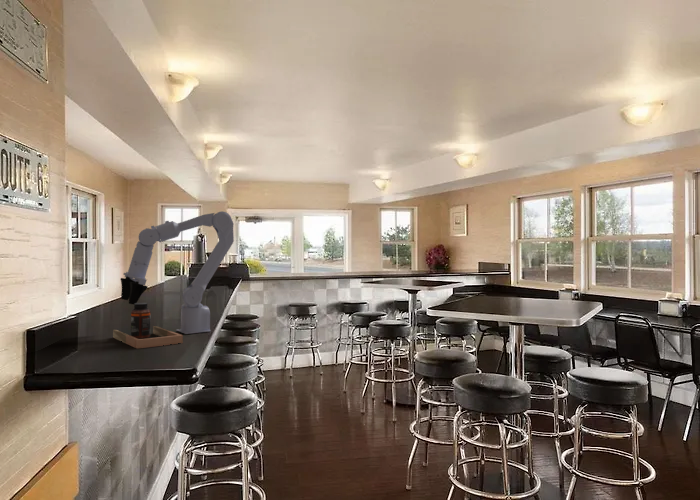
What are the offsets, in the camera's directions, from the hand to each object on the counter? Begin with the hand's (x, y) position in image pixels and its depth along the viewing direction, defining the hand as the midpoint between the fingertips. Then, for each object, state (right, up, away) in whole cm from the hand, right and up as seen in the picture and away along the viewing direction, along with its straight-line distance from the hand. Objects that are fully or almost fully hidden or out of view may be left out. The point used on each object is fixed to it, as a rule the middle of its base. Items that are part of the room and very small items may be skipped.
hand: (128, 301), depth 174 cm
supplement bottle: (+7, -11, -6) cm, 14 cm away
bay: (+10, -11, -9) cm, 18 cm away
